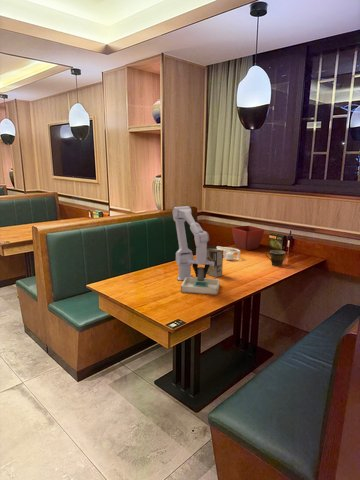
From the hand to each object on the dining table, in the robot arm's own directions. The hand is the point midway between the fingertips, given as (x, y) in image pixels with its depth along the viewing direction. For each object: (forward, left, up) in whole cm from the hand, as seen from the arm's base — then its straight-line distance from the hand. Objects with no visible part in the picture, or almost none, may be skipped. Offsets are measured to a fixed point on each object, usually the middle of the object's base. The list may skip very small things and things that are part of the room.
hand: (200, 277), depth 191 cm
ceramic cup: (-53, +44, -7) cm, 69 cm away
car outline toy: (-64, +10, -7) cm, 65 cm away
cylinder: (0, 0, -2) cm, 2 cm away
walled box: (0, 0, -7) cm, 7 cm away
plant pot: (-97, +25, -7) cm, 100 cm away
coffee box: (-26, +5, -7) cm, 27 cm away
